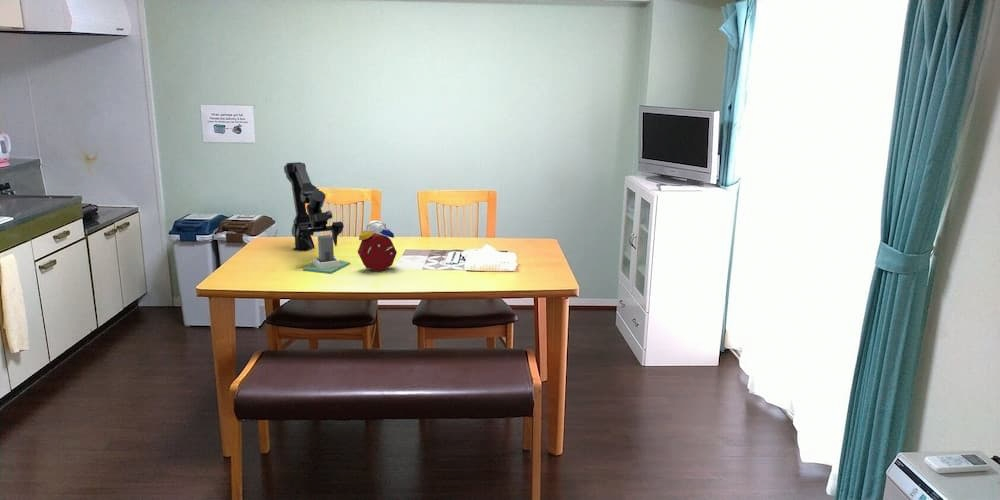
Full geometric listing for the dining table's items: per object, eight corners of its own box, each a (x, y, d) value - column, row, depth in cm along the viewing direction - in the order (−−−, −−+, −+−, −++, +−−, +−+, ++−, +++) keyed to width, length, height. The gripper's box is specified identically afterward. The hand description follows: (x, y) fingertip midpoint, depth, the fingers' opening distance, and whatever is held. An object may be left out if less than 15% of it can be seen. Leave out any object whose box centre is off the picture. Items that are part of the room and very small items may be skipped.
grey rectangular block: (319, 264, 297) (317, 236, 294) (331, 263, 300) (329, 235, 297) (322, 267, 294) (321, 238, 291) (334, 265, 296) (333, 237, 293)
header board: (302, 270, 292) (302, 262, 291) (322, 261, 306) (322, 253, 305) (331, 273, 288) (330, 265, 288) (350, 264, 302) (349, 256, 301)
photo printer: (368, 245, 333) (367, 219, 329) (376, 244, 335) (375, 218, 332) (379, 250, 325) (378, 223, 322) (387, 248, 328) (386, 222, 324)
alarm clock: (393, 266, 300) (392, 219, 295) (398, 271, 292) (397, 223, 287) (358, 269, 295) (356, 221, 290) (362, 275, 287) (360, 225, 282)
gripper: (296, 206, 291) (305, 238, 285) (341, 202, 300) (351, 233, 294) (292, 221, 300) (301, 253, 294) (336, 217, 309) (345, 248, 303)
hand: (325, 246), depth 296 cm, fingers open, 9 cm apart
